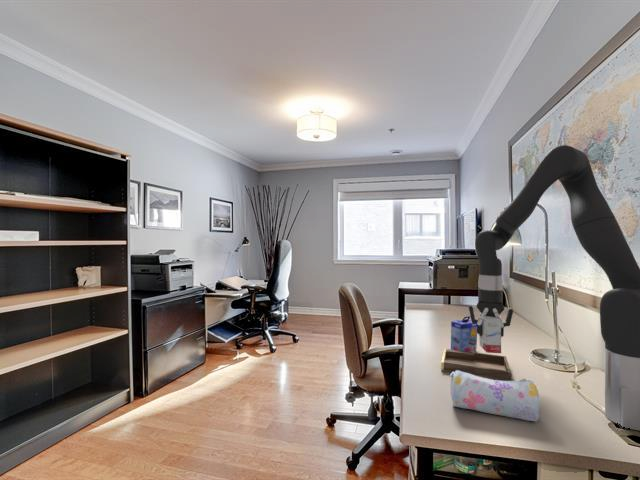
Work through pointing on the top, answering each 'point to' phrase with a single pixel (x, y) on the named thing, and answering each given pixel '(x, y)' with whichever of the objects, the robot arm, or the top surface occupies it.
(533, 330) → the top surface
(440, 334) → the top surface
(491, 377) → the wooden tray
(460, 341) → the ink cartridge box
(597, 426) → the top surface
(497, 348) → the ink box
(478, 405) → the pencil case
